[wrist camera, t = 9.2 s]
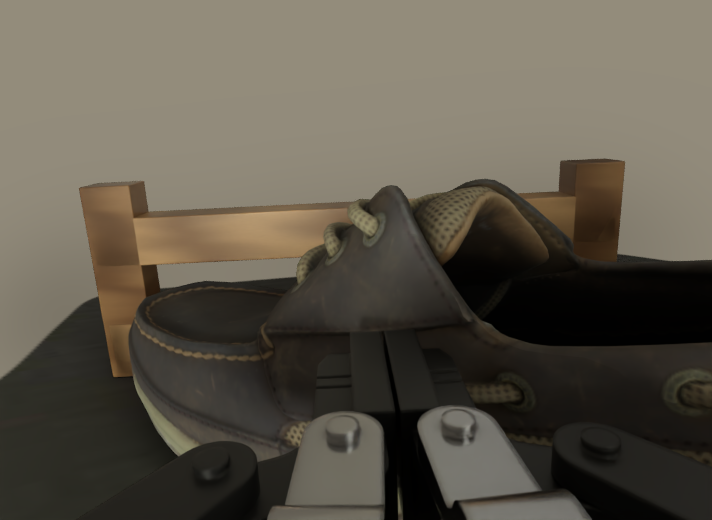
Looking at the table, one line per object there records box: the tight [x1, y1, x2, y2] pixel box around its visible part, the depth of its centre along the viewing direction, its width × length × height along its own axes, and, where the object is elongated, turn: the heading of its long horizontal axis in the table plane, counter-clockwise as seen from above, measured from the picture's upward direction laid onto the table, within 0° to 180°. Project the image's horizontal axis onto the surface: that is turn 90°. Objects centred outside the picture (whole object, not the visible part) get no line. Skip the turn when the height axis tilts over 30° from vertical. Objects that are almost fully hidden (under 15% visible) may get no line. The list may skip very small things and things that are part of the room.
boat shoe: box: [128, 179, 712, 520], centre depth 17 cm, size 11×29×11 cm, turn 60°
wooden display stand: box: [79, 159, 625, 377], centre depth 30 cm, size 27×8×10 cm, turn 92°
